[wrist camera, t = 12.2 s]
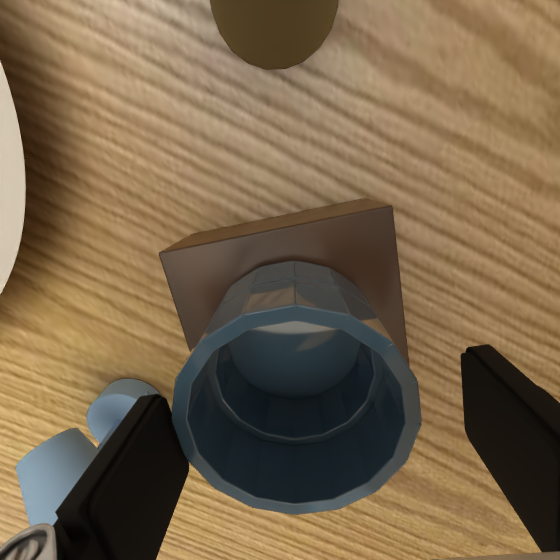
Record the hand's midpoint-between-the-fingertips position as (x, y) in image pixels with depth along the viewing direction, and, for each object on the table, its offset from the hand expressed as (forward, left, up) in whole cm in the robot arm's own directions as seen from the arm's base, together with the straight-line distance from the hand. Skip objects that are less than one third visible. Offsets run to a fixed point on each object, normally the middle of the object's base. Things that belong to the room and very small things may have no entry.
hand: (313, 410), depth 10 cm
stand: (+1, 0, -10) cm, 10 cm away
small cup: (+1, 0, -5) cm, 5 cm away
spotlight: (+13, +6, -10) cm, 17 cm away
